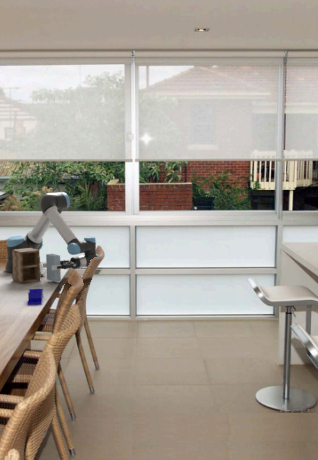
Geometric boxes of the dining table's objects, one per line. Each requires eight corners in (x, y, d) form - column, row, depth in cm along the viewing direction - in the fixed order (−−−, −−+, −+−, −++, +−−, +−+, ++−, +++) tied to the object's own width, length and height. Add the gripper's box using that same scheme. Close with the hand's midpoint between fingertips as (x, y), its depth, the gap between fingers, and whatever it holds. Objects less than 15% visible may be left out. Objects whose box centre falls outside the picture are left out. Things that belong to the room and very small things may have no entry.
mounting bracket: (41, 305, 320) (41, 294, 320) (27, 305, 319) (27, 294, 319) (43, 297, 338) (43, 286, 337) (30, 297, 337) (30, 287, 336)
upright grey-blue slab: (45, 279, 376) (45, 254, 374) (52, 278, 379) (51, 253, 377) (53, 282, 369) (53, 256, 366) (60, 281, 372) (60, 255, 370)
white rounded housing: (44, 277, 391) (38, 262, 389) (37, 279, 390) (31, 265, 389) (46, 271, 407) (41, 258, 406) (40, 274, 407) (34, 260, 405)
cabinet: (12, 280, 379) (11, 249, 376) (31, 277, 388) (30, 247, 385) (21, 284, 370) (20, 252, 367) (41, 280, 379) (40, 249, 376)
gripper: (87, 270, 377) (56, 275, 362) (68, 265, 394) (38, 270, 379) (87, 259, 376) (56, 263, 361) (68, 254, 393) (38, 258, 378)
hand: (47, 266), depth 370 cm, fingers closed on upright grey-blue slab, 10 cm apart
